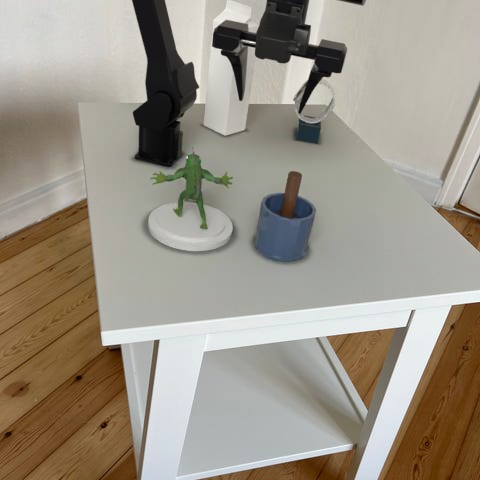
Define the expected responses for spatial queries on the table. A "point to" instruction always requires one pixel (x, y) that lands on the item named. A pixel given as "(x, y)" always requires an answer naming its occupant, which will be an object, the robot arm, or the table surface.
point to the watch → (311, 125)
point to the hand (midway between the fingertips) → (270, 106)
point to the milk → (228, 79)
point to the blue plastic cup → (283, 229)
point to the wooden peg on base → (290, 196)
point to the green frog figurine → (190, 213)
